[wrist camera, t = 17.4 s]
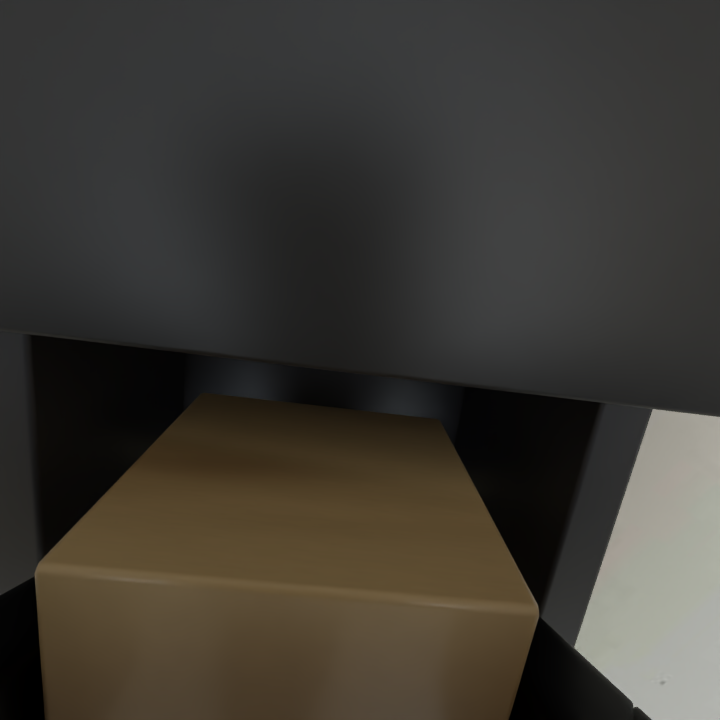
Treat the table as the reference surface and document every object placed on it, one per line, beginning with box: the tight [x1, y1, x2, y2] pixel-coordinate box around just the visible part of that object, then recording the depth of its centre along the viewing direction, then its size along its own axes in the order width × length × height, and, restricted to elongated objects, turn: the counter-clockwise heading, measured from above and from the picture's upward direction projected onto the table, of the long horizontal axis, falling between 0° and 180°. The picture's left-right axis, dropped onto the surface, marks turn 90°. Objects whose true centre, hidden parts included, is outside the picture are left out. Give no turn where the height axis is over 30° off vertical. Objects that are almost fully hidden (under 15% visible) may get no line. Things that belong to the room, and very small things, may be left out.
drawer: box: [0, 331, 652, 648], centre depth 10 cm, size 20×11×7 cm, turn 172°
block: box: [35, 393, 539, 720], centre depth 6 cm, size 4×4×4 cm
